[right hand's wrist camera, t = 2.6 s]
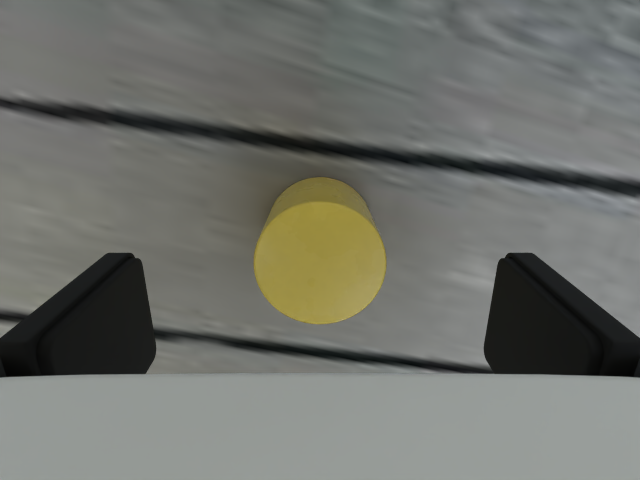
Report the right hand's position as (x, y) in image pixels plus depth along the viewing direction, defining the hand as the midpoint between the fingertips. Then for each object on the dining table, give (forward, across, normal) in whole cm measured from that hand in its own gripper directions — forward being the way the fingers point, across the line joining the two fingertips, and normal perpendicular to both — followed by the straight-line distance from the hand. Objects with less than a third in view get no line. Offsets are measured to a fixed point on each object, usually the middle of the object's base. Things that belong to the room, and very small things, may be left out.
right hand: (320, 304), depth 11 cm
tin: (+9, 0, +1) cm, 9 cm away
